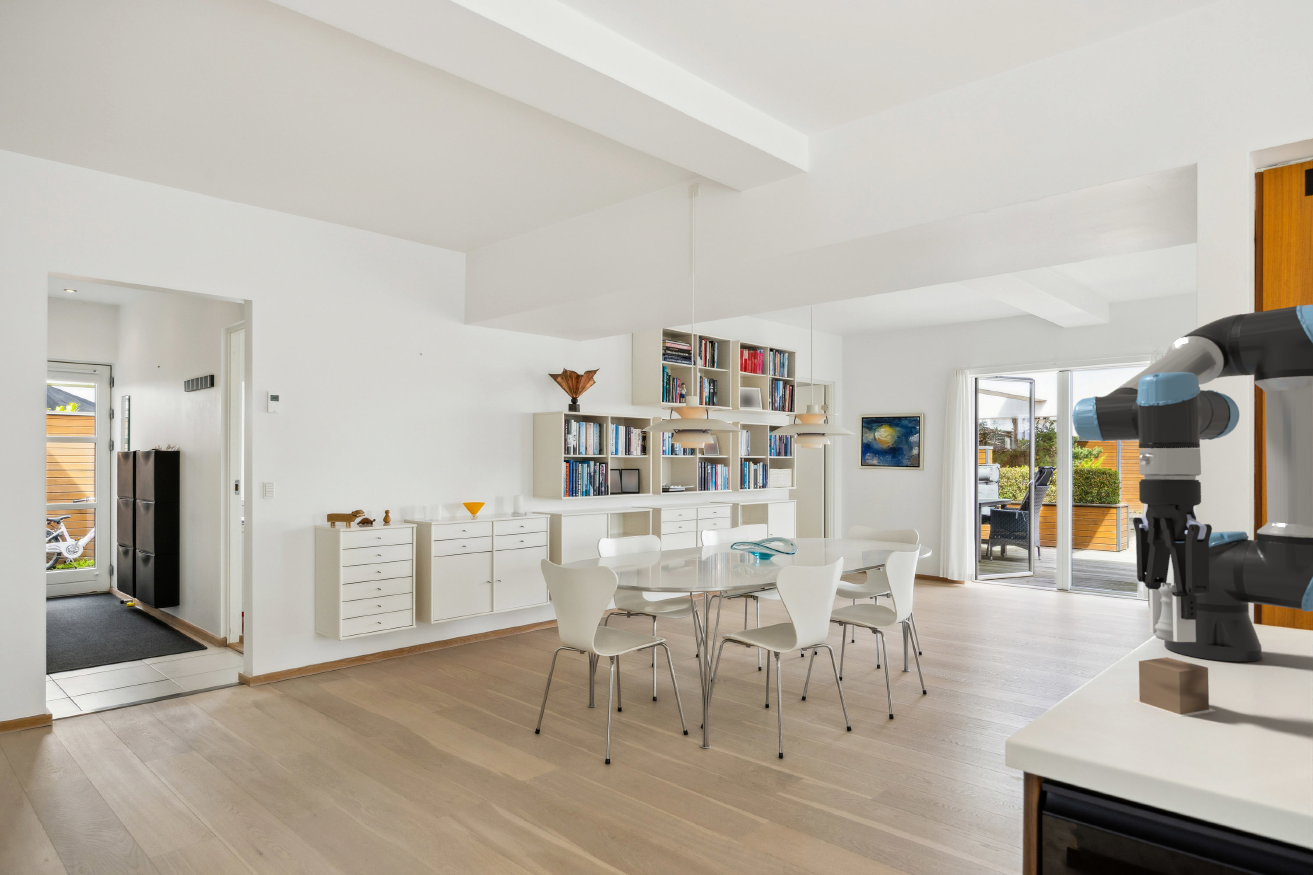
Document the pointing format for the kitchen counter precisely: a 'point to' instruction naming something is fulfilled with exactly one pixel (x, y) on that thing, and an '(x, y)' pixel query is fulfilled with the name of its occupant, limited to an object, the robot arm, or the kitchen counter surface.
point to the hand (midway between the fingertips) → (1172, 636)
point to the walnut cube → (1174, 685)
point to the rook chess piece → (1166, 613)
